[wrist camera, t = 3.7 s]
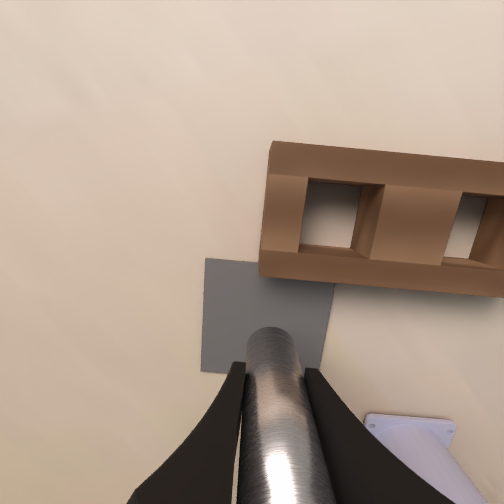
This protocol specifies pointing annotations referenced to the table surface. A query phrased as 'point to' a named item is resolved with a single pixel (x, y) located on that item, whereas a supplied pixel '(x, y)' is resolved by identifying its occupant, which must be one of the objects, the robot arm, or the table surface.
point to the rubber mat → (259, 313)
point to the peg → (279, 428)
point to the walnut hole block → (385, 219)
